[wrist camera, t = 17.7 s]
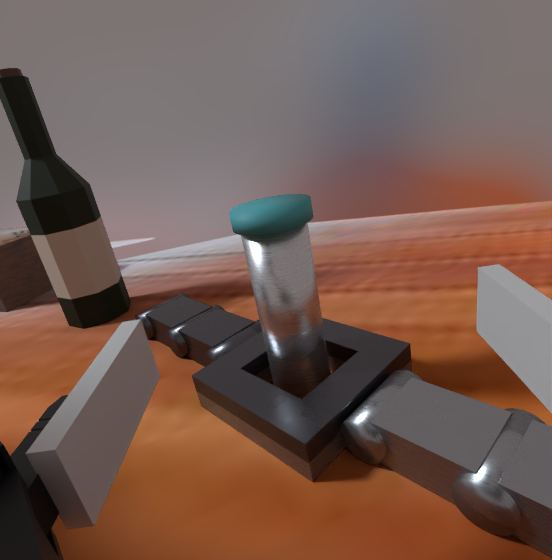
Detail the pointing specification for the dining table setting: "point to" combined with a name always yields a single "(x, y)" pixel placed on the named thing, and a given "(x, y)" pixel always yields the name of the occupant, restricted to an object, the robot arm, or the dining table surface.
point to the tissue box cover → (20, 269)
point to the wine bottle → (62, 216)
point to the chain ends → (370, 417)
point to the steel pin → (285, 288)
